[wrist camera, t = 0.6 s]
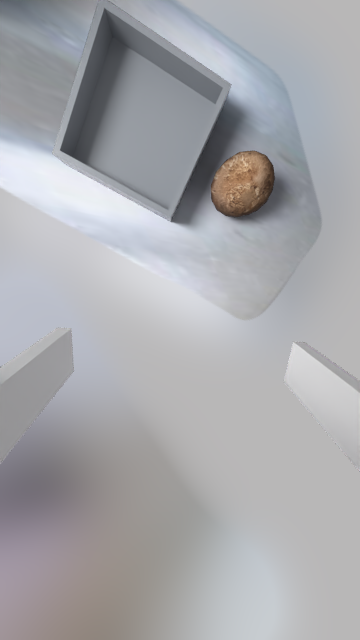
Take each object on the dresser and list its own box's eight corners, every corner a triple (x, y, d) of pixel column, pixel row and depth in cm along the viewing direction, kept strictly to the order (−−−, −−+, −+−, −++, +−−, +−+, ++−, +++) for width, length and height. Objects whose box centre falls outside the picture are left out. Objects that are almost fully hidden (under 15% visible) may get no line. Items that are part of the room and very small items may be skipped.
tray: (66, 165, 31) (51, 153, 27) (110, 30, 27) (100, -5, 24) (170, 221, 34) (170, 218, 30) (223, 105, 30) (231, 84, 26)
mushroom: (228, 126, 28) (246, 144, 24) (273, 157, 32) (295, 178, 28) (194, 190, 33) (205, 213, 29) (237, 211, 37) (251, 234, 33)
